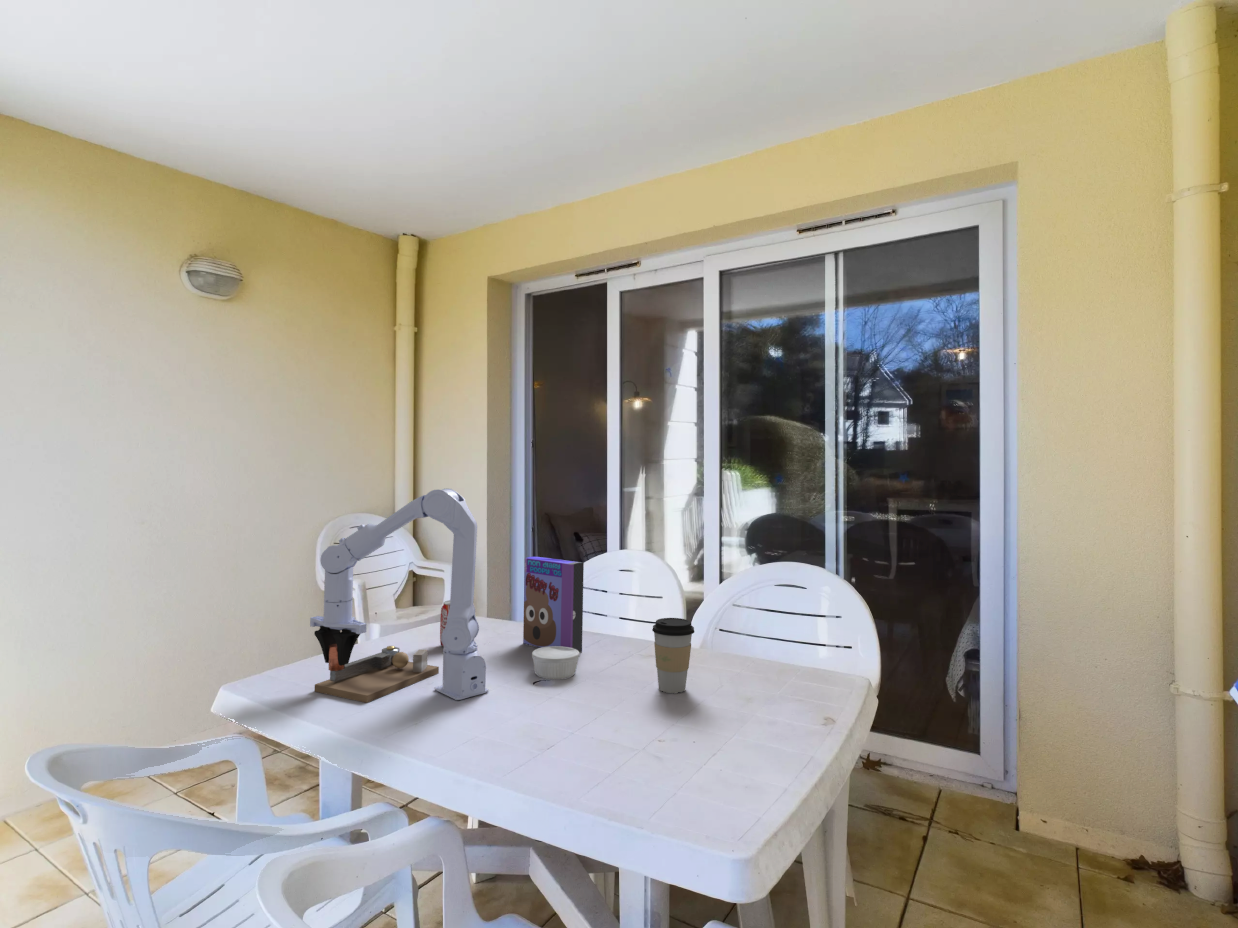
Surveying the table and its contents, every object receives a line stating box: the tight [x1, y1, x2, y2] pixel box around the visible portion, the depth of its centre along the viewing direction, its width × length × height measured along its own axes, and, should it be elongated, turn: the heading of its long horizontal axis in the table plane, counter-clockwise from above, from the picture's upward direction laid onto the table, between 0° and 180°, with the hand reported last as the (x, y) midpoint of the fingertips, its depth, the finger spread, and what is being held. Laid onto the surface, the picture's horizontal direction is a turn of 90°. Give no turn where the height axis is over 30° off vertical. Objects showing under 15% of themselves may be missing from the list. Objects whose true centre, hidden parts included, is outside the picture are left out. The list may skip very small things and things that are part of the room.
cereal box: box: [522, 556, 585, 654], centre depth 176 cm, size 17×5×24 cm, turn 53°
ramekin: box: [531, 646, 580, 681], centre depth 153 cm, size 11×11×5 cm
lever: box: [328, 644, 401, 682], centre depth 147 cm, size 20×4×8 cm, turn 156°
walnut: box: [392, 651, 410, 668], centre depth 150 cm, size 4×4×4 cm
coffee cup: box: [651, 617, 695, 694], centre depth 144 cm, size 9×9×15 cm
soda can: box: [439, 599, 450, 648], centre depth 175 cm, size 7×7×12 cm
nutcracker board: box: [314, 649, 440, 704], centre depth 145 cm, size 22×15×6 cm
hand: (336, 662), depth 139 cm, fingers open, 3 cm apart
